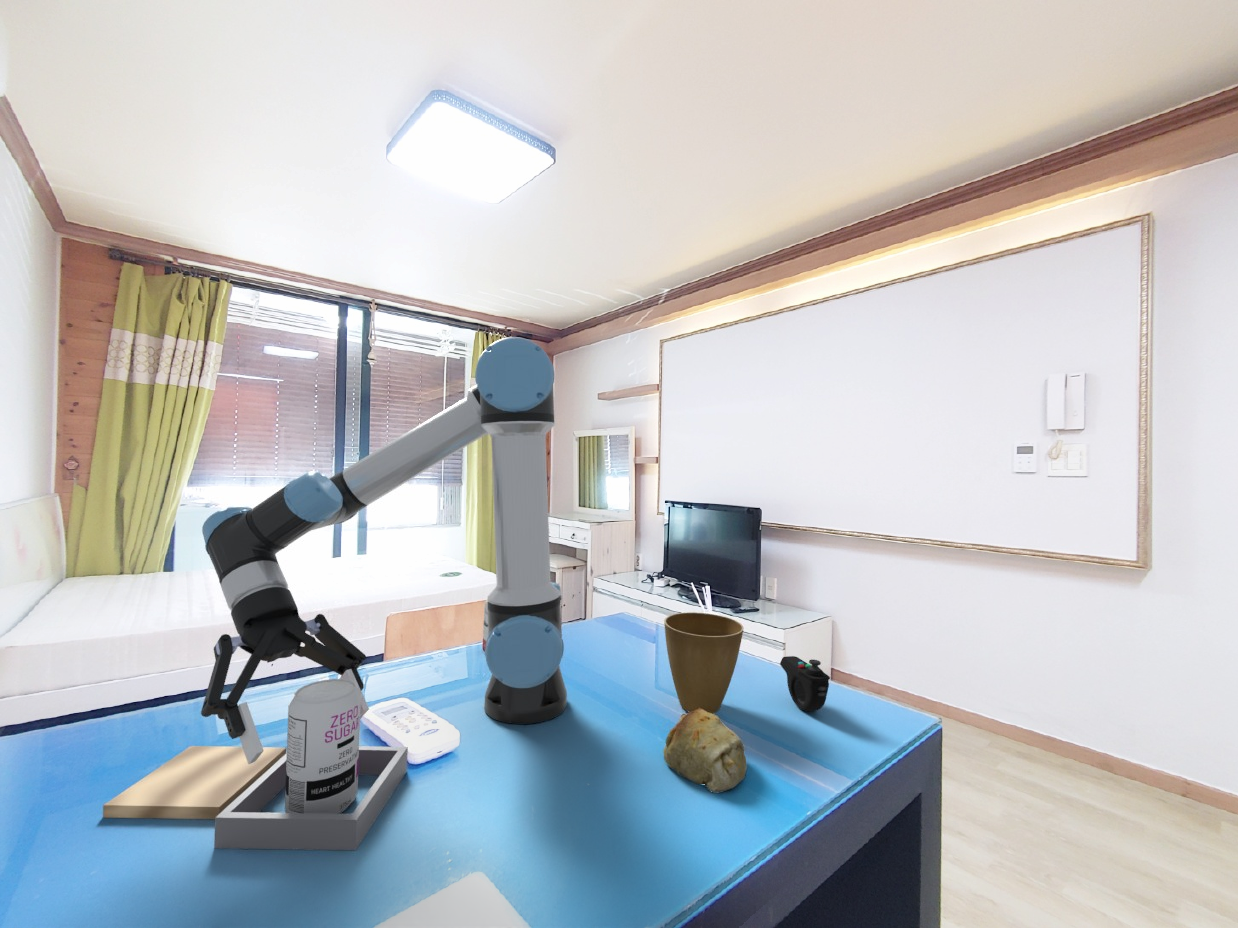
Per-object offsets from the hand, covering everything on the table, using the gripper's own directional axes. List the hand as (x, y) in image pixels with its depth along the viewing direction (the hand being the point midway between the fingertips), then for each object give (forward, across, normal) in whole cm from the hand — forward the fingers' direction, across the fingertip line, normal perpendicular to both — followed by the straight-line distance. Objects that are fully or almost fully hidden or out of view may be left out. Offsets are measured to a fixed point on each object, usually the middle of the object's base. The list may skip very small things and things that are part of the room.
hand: (313, 734), depth 70 cm
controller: (+39, -69, +26) cm, 83 cm away
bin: (+7, -1, -5) cm, 9 cm away
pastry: (+34, -38, +21) cm, 55 cm away
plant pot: (+28, -57, +15) cm, 65 cm away
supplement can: (+8, -1, -6) cm, 9 cm away
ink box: (-9, -57, -22) cm, 62 cm away
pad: (-5, +6, -18) cm, 19 cm away
